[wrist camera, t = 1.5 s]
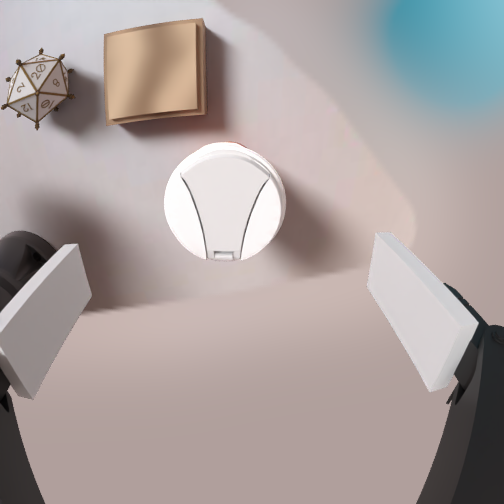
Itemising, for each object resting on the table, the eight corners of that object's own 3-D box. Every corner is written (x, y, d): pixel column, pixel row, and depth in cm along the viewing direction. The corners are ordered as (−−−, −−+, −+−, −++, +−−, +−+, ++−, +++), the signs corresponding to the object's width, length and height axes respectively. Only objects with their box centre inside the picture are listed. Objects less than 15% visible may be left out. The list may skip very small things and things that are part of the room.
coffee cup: (264, 205, 35) (283, 271, 22) (190, 204, 35) (164, 268, 21) (268, 131, 32) (295, 147, 18) (190, 129, 31) (157, 145, 17)
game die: (64, 76, 30) (31, 26, 20) (103, 91, 29) (69, 31, 19) (19, 130, 28) (-26, 87, 18) (52, 154, 27) (0, 104, 17)
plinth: (117, 123, 30) (104, 126, 26) (115, 40, 26) (101, 33, 22) (207, 114, 30) (203, 114, 27) (205, 26, 26) (201, 16, 22)
